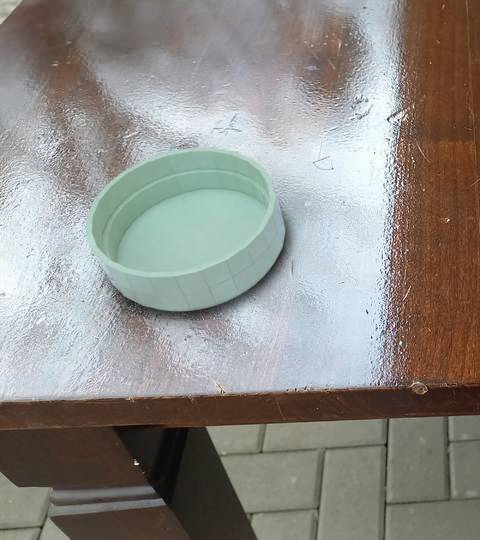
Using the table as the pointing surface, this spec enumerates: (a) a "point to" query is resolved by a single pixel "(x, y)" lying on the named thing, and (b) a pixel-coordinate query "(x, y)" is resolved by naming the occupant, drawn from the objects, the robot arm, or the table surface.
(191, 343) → the table surface
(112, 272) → the bowl
